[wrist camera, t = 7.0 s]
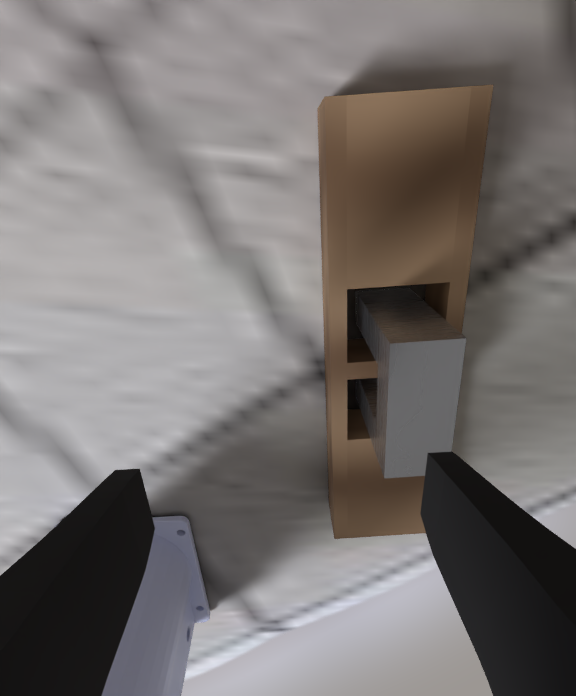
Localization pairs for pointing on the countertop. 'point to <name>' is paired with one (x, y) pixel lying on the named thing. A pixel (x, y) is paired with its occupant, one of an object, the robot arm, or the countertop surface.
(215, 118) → the countertop surface
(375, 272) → the rail
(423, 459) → the brushed metal block
